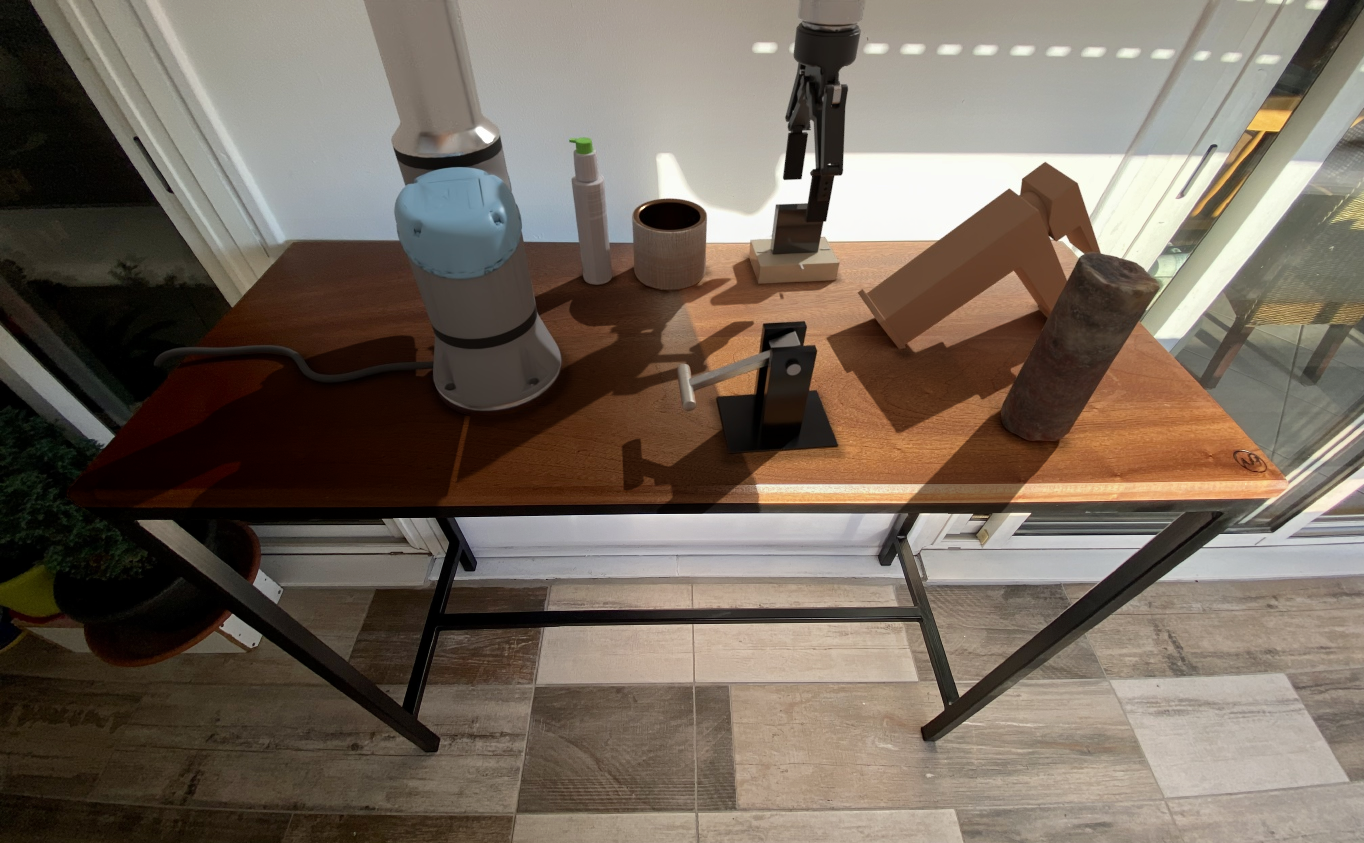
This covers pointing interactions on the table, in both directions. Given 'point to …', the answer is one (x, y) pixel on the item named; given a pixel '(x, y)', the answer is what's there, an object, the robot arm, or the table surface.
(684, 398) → the tap lever
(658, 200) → the planter
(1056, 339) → the grey-brown thick cylinder
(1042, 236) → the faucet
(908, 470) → the table surface
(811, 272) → the beige slotted base block
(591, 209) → the bottle
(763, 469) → the table surface
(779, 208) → the red-tipped grey panel
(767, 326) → the bracket
